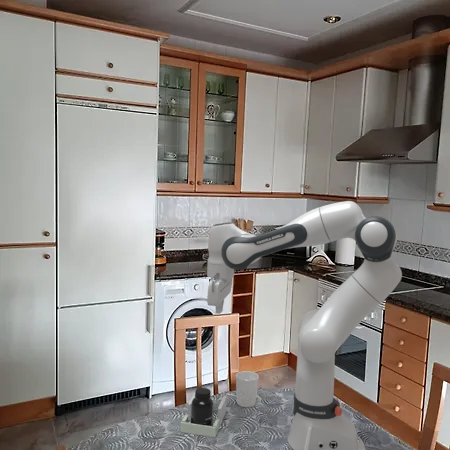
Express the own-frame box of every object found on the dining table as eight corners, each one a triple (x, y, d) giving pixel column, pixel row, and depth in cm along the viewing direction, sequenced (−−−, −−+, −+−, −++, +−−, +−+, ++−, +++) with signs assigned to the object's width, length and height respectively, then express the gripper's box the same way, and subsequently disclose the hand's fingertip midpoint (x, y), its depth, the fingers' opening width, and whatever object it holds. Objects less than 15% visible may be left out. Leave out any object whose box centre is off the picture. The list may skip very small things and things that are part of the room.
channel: (225, 412, 146) (226, 396, 145) (220, 425, 138) (220, 408, 137) (194, 407, 148) (195, 392, 148) (187, 420, 140) (187, 404, 140)
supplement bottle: (210, 435, 132) (212, 397, 131) (188, 432, 133) (189, 395, 132) (213, 423, 139) (214, 387, 138) (192, 421, 140) (193, 385, 139)
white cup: (254, 410, 148) (255, 381, 147) (232, 406, 150) (233, 378, 150) (259, 399, 156) (260, 372, 155) (238, 396, 158) (239, 369, 157)
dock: (218, 428, 136) (219, 419, 135) (215, 437, 131) (215, 427, 131) (185, 423, 138) (185, 414, 138) (180, 431, 133) (180, 422, 133)
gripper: (223, 278, 132) (221, 322, 133) (235, 267, 152) (234, 305, 153) (203, 276, 133) (201, 320, 134) (218, 265, 153) (216, 304, 154)
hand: (219, 312), depth 144 cm, fingers closed
